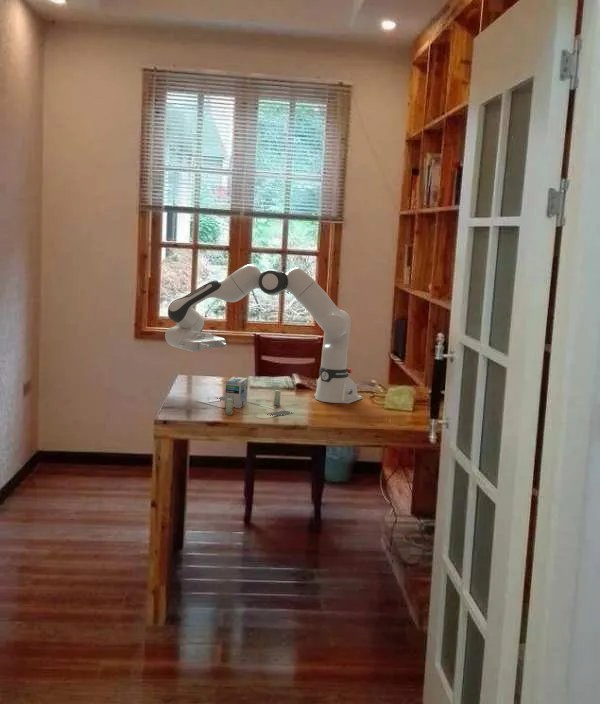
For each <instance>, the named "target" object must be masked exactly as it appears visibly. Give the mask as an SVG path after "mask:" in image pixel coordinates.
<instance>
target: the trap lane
mask: <svg viewBox="0 0 600 704" xmlns="http://www.w3.org/2000/svg"><path fill="white" fill-rule="evenodd" d="M281 392H282V391H281V390H276V389H275V390H274V398H273V399H274V401H273V405H274V406H276V407H277V406H278V407H279V406H280V405H281ZM219 397H220V398H219V399H220V401H219V402H221V400H223V401H225V396H219ZM216 398H217V399H218V397H216ZM247 404H252V405H255V406H260V407H262V406H263V408H266V407H267V409H271V410H276V407H273V406H269V405H264V404H261V403H257V402H254V401H249V400H247ZM232 405H233V399H227V400H226V409H225V415H226V414H227V416H232V415H233V411H232V409H233V407H232ZM290 412H291V414H293V413H292V412H293V411H288V410H279V411H275V412H270V414H271V415H272V416H273V415H276V416H277V415H278V416H277V417H281V414H282V416H285V415H286V414H287V415H290V414H289V413H290ZM272 413H273V414H272ZM231 414H232V415H231ZM266 414H267V415H268V414H269V413H266ZM284 414H285V415H284ZM271 415H270V416H271ZM279 415H280V416H279Z"/></svg>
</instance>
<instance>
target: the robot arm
mask: <svg viewBox="0 0 600 704" xmlns="http://www.w3.org/2000/svg"><path fill="white" fill-rule="evenodd" d="M256 289H260V290H261V291H262V293H264V294H266V295H269V296H277V295H280V294H282V293H283V292H284V291H287V292H289V293H290V294H292V296H294V298H295V299H296V300H297V301H298V302H299V303H300V304H301V305H302V307H303V308H304V309H306V311H307V312H308V313H309V314H310V316H311V317H312V319H313V320H314V321H315V323H317V325H318V326H319V327H320V328H321V330H322V331H323V332H324V334H323V335H324V336H323V342H322V349H321V363H320V364H321V365H320V367H319V377H318V379H317V384H316V389H315V390H316V391H315V393H314V394H313V397H314V399H315V400H317V401H320V402H323V403H332V404H351V403H354V402H357V401H359V400H362V399H363V396H362V395H360V394H358V386H357V384H356V383H355V381H353V380H352V379H351V378H350V377H349V374H352V373H353V369H352V368H347V367H348V366H347V365H348V351H349V343H350V335H351V334H350V333H351V325H352V321H351V317H350V315H349V313H348V312H347V311H345V310H343V309H340V308H338V306H337V305H336V303H335V302H334V301H333V300H332V299H331V297H330V296H329V294H328V293H327V292H326V291H325V290H324V289H323V288H322V287H321V285H320V284H319V283H318V282H316V281H315V279H314V278H313V277H312V276H310V275H309V273H307V272H306V271H304V270H303V269H302V268H300V267H292V268H291V269H289V270H288V271H286V272H283V271H279V270H277V269H271V268H270V269H266V270H264V271H261V269H259V268H258V266H256V265H255V264H252V263H249V264H245V265H244V266H241V267H240V268H238V269H237V270H235V271H234V272H232V273H231V274H230V275H228V276H227V277H225V278H223V279H218V280H215V279H214V280H211V281H209V282H207V283H205V284H203V285H202V286H200V287H198V288H196V289H195V290H193V291H191V292H189V293H188V294H186V295H184V296H182V297H180V298H177V299H174V300H173V301H171V303H170V304H169V305H168V309H167V317H168V318H169V320H171V321H173V323H176V324H175V325H174V326H172V327H168V328H167V329H166V331H164V332H165V334H164V339H165V342H166V344H168V345H169V346H171V347H173V348H176V349H180V350H185V351H188V352H192V353H199V352H201V351H204V350H211V349H212V350H213V349H220V348H221V349H225V348H227V346H228V344H227V343H226V341H227V340H226V339H225V338H224V337H222V336H217V335H213V333H210V332H203V330H204V327H205V324H206V323H205V318H204V317H203V316H202V314H201V313H199V312H198V311H197V310H195V308H194V307H195V306H197V305H198V304H200V303H202V302H203V301H205V300H207V299H210V298H216V299H219V300H221V301H225V302H227V303H236V302H238V301H241V300H242V299H244V298H245V297H246V296H247V295H249V293H251V292H252V291H254V290H256Z"/></svg>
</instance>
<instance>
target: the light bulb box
mask: <svg viewBox="0 0 600 704" xmlns="http://www.w3.org/2000/svg"><path fill="white" fill-rule="evenodd" d="M248 383H249V378H247V377H239V376H232V377H230V378H229V379H227V380H226V381H225V390H224V391H225V392H224V393H225V394H224V395H225V400H224V407H225V406H226V400H227V399H233V405H232V408H234V407H235V409H240V408H242V407H244V406H245V405H247V404H248V403H247V401H248V387H249V386H248V385H249V384H248Z"/></svg>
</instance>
